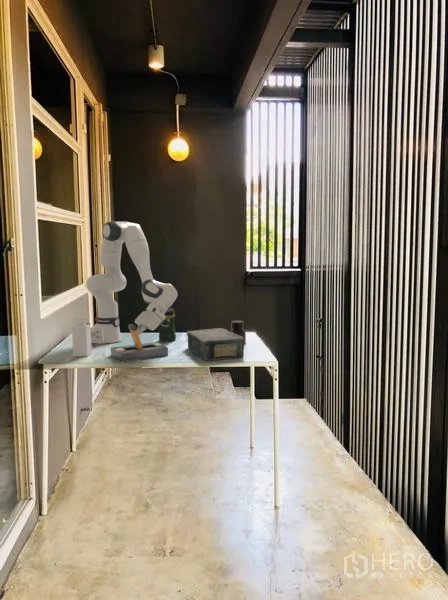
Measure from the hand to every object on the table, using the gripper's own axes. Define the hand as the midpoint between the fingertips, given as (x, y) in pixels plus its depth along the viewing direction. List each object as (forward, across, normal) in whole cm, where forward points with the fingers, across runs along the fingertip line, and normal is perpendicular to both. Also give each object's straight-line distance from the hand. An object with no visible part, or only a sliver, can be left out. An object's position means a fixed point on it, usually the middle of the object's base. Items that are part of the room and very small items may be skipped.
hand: (137, 333), depth 236 cm
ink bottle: (-32, +2, +49) cm, 59 cm away
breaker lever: (+5, 0, +6) cm, 7 cm away
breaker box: (+8, 0, +8) cm, 11 cm away
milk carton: (+24, -18, -8) cm, 31 cm away
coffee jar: (-11, -27, +28) cm, 41 cm away
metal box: (-16, +16, +33) cm, 40 cm away
